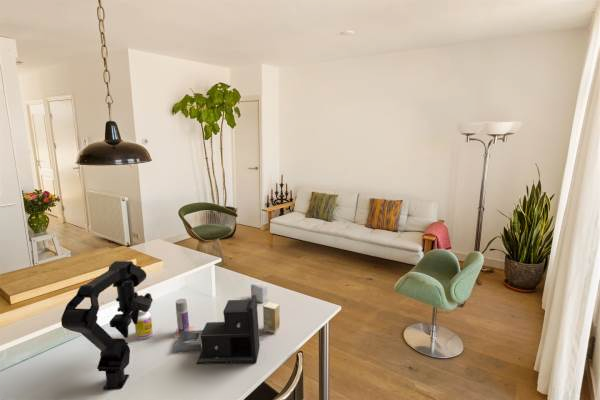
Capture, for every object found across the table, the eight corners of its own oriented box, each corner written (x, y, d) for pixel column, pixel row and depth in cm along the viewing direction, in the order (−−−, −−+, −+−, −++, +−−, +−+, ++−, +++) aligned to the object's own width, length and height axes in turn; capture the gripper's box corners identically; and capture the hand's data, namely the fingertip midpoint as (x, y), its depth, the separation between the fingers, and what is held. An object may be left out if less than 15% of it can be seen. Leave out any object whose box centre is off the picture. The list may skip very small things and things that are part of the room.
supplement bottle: (146, 340, 146) (143, 313, 144) (133, 339, 147) (129, 312, 145) (156, 331, 153) (153, 305, 150) (143, 330, 154) (139, 304, 151)
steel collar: (201, 350, 139) (200, 344, 138) (175, 352, 138) (175, 346, 137) (205, 336, 149) (205, 329, 148) (181, 337, 148) (181, 331, 147)
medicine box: (268, 299, 180) (267, 284, 178) (263, 303, 176) (262, 288, 174) (256, 296, 184) (255, 281, 182) (251, 299, 180) (250, 284, 178)
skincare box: (263, 331, 152) (262, 305, 149) (268, 326, 155) (267, 301, 153) (275, 334, 149) (275, 308, 147) (280, 329, 153) (279, 304, 150)
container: (189, 328, 154) (186, 297, 151) (189, 333, 150) (187, 302, 147) (178, 330, 153) (175, 299, 150) (178, 336, 148) (175, 304, 145)
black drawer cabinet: (196, 364, 130) (190, 308, 126) (204, 347, 141) (199, 295, 136) (256, 364, 130) (253, 307, 126) (260, 346, 141) (257, 294, 136)
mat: (190, 336, 148) (190, 335, 148) (174, 337, 148) (174, 337, 148) (193, 327, 155) (193, 326, 155) (178, 328, 155) (178, 328, 155)
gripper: (139, 303, 120) (144, 343, 123) (156, 281, 138) (160, 316, 141) (106, 305, 119) (112, 345, 122) (127, 282, 137) (132, 318, 140)
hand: (131, 330), depth 131 cm, fingers open, 9 cm apart
